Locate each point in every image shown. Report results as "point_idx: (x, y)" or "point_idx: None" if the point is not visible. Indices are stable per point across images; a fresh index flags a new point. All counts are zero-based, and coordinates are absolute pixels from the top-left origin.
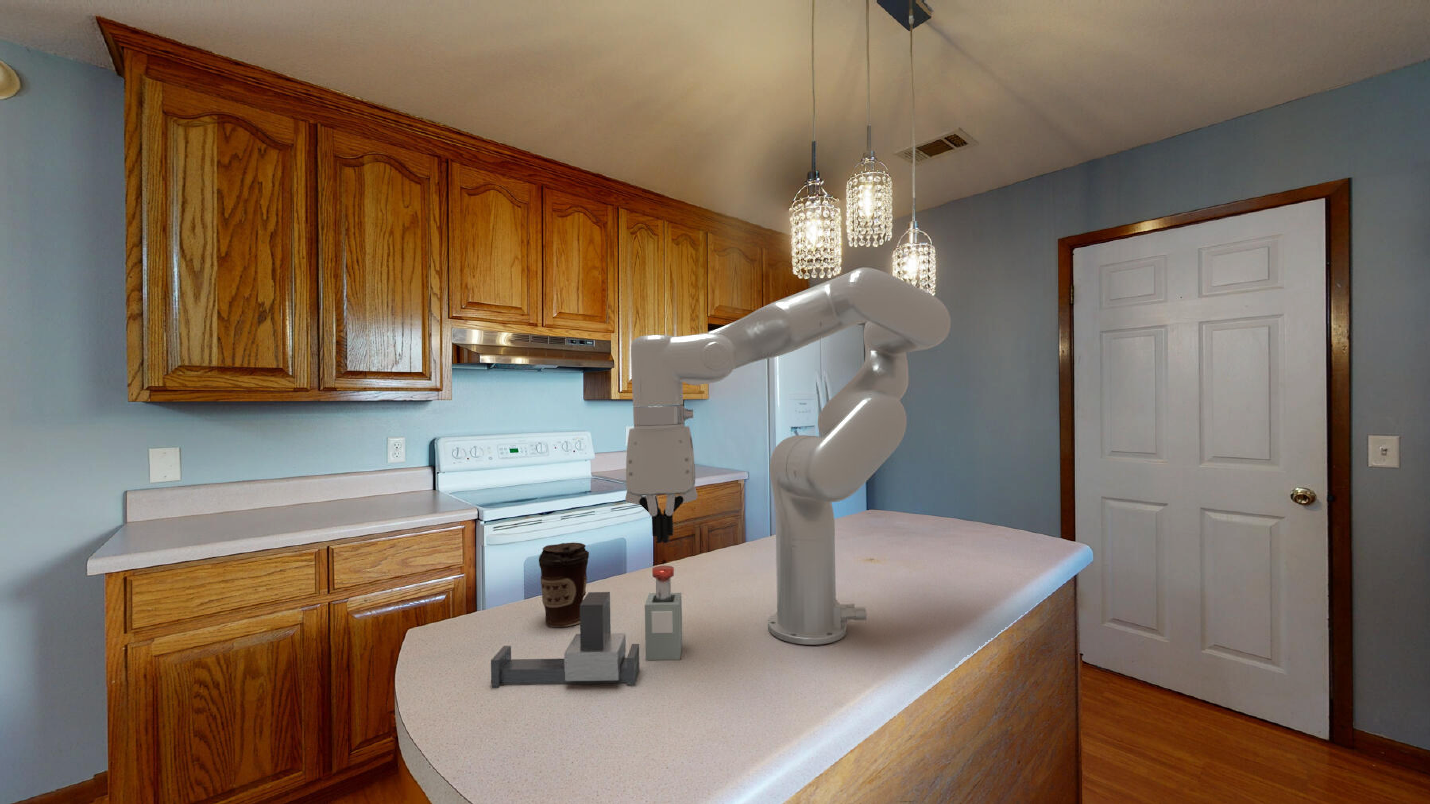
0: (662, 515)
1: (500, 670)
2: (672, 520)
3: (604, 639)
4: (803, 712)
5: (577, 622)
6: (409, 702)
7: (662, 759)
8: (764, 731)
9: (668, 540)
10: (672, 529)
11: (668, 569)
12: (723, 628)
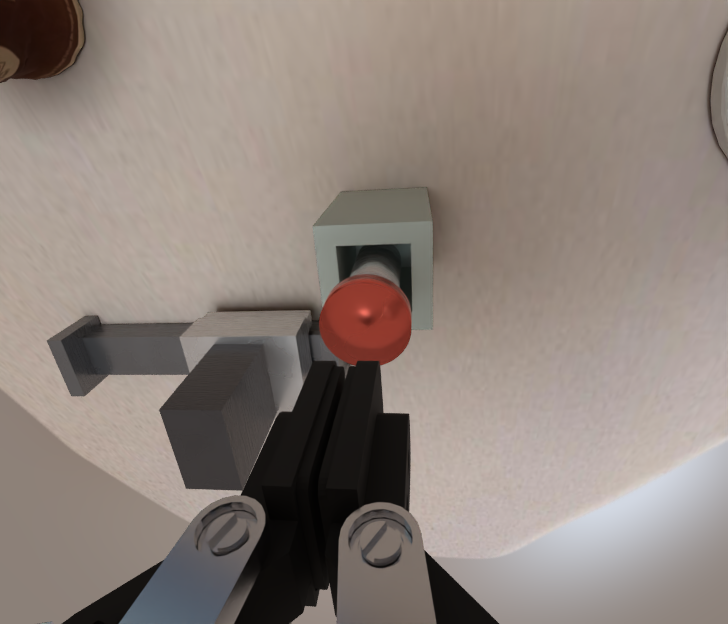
0: (313, 489)
1: (97, 375)
2: (406, 495)
3: (269, 412)
4: (647, 446)
5: (79, 47)
6: (18, 401)
7: (425, 518)
8: (568, 482)
9: (382, 405)
10: (409, 473)
11: (390, 340)
12: (556, 54)
